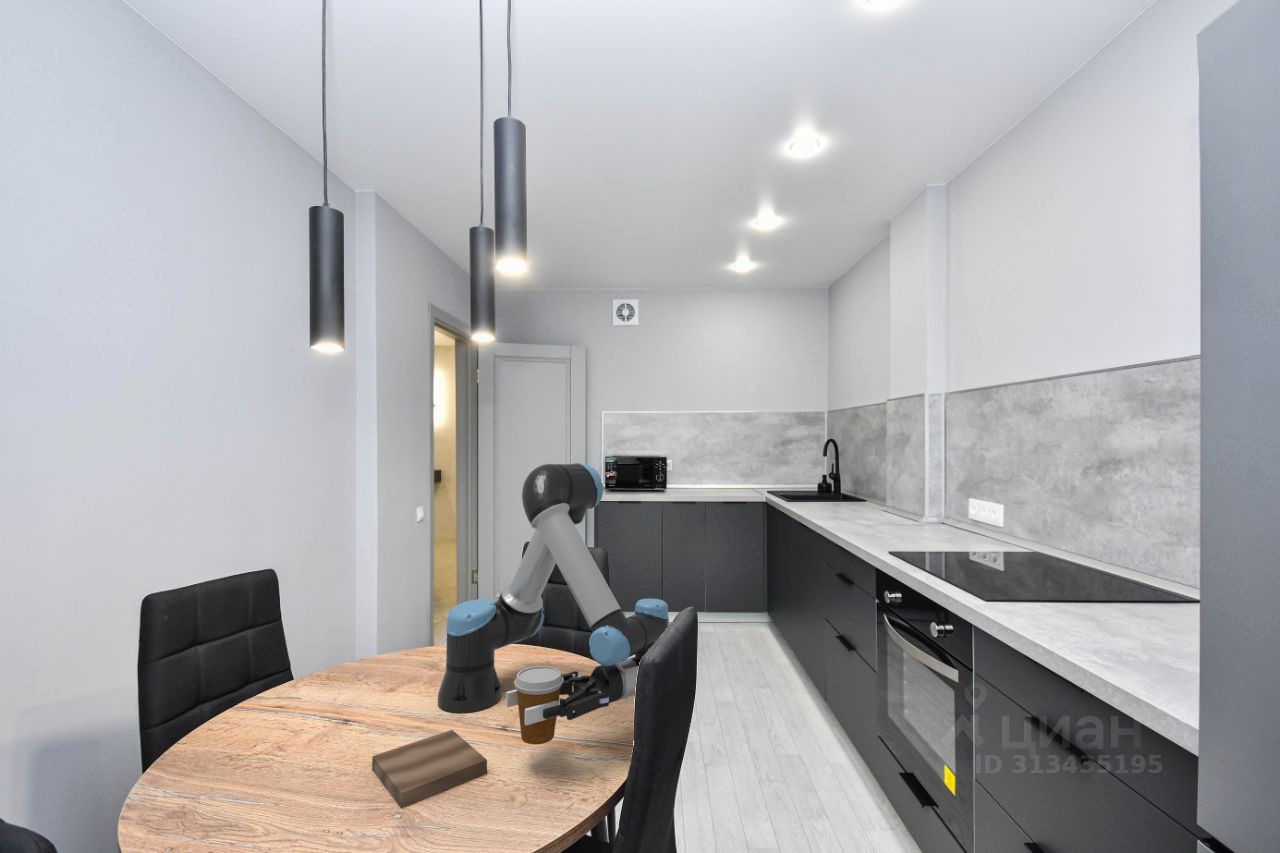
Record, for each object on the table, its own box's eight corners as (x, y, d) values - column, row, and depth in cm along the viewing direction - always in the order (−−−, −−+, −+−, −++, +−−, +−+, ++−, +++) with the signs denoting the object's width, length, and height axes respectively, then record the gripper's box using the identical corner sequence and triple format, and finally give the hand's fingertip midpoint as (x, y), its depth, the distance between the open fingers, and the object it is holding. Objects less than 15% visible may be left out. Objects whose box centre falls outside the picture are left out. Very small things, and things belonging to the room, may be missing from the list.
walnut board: (372, 769, 108) (372, 756, 108) (451, 741, 119) (452, 729, 119) (401, 807, 96) (401, 793, 96) (486, 773, 107) (487, 759, 107)
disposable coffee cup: (570, 729, 112) (571, 668, 112) (547, 753, 103) (548, 687, 103) (528, 721, 115) (530, 662, 115) (503, 744, 106) (504, 679, 106)
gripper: (643, 718, 111) (539, 752, 98) (589, 682, 128) (494, 707, 115) (644, 679, 111) (540, 708, 98) (590, 649, 128) (495, 670, 115)
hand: (515, 708), depth 106 cm, fingers closed on disposable coffee cup, 8 cm apart
